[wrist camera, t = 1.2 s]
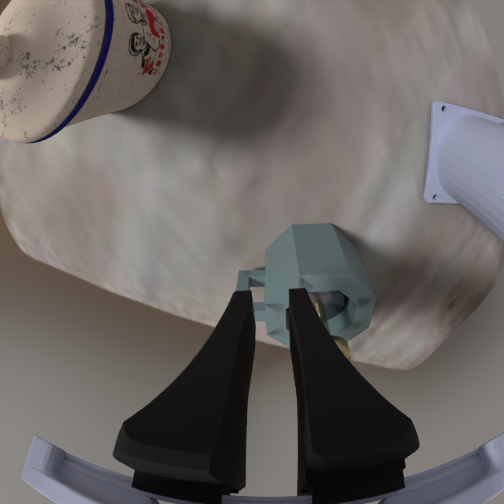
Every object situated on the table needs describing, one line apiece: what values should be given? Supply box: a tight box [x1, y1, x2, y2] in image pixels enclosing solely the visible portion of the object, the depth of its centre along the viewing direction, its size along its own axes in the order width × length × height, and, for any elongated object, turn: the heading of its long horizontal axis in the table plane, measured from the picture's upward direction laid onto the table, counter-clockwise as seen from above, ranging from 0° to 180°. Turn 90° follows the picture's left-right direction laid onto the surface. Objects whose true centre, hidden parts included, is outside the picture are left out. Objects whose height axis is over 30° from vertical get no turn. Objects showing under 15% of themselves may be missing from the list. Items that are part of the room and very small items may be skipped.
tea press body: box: [236, 224, 377, 347], centre depth 20 cm, size 9×7×6 cm
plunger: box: [308, 290, 351, 361], centre depth 17 cm, size 4×4×5 cm
